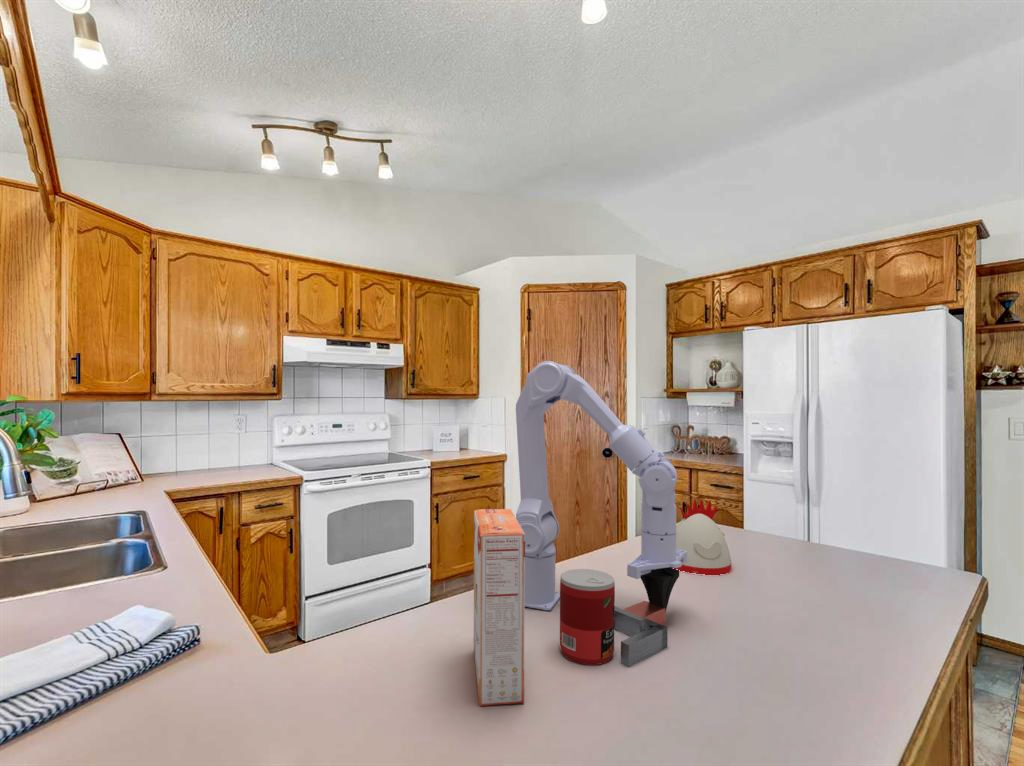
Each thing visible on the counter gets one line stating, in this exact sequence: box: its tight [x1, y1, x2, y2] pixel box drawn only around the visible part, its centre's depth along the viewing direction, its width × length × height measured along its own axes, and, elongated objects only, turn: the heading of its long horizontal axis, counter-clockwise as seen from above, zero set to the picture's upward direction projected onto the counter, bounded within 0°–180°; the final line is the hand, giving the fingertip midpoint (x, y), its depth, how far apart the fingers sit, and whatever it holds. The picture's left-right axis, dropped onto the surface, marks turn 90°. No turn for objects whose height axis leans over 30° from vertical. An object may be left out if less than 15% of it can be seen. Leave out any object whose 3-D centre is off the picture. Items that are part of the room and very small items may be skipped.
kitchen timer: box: [672, 498, 732, 576], centre depth 118 cm, size 14×14×15 cm
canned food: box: [559, 568, 616, 666], centre depth 76 cm, size 8×8×11 cm
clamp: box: [614, 600, 669, 668], centre depth 82 cm, size 15×13×3 cm
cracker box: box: [473, 508, 526, 707], centre depth 69 cm, size 14×6×21 cm, turn 7°
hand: (658, 612), depth 87 cm, fingers closed
